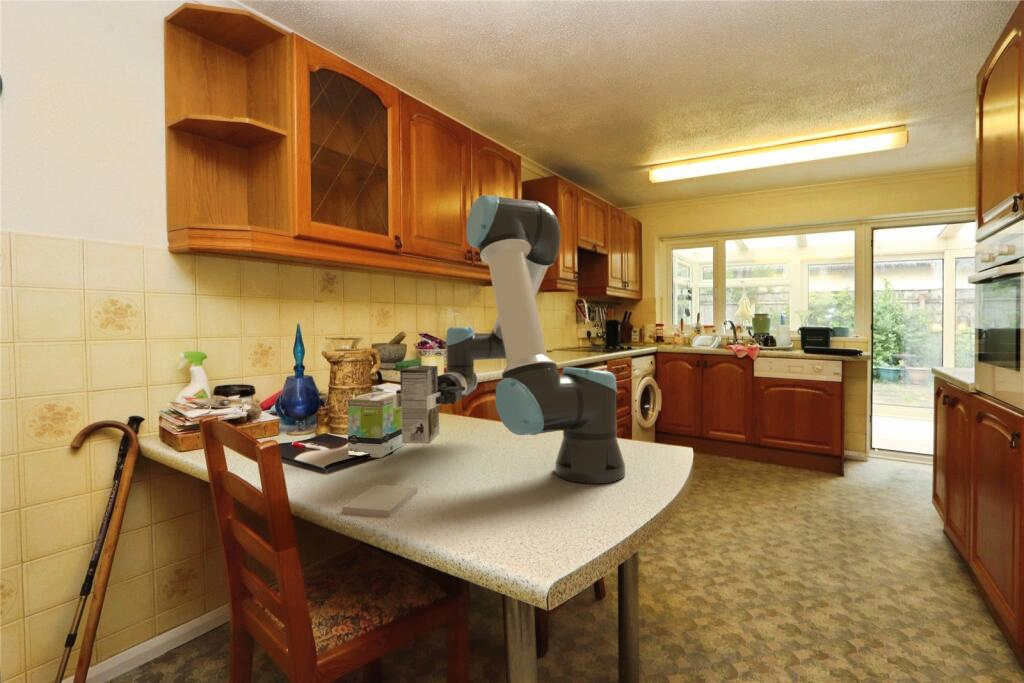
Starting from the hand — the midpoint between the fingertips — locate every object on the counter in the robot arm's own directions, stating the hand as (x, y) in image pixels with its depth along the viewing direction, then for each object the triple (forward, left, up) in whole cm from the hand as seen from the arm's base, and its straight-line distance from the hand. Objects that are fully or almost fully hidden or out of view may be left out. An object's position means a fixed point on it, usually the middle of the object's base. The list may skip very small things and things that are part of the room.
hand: (411, 402), depth 104 cm
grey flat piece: (0, +8, -16) cm, 18 cm away
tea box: (+19, -21, -17) cm, 33 cm away
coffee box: (0, -5, -9) cm, 10 cm away
